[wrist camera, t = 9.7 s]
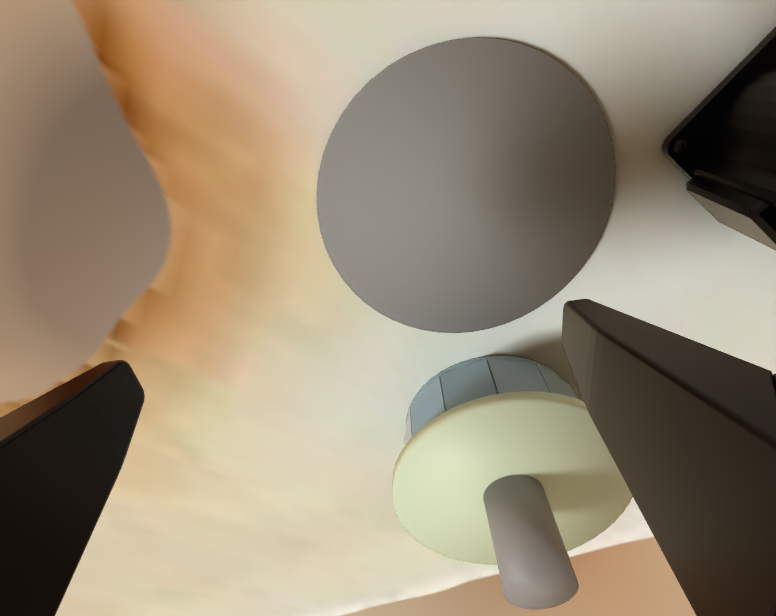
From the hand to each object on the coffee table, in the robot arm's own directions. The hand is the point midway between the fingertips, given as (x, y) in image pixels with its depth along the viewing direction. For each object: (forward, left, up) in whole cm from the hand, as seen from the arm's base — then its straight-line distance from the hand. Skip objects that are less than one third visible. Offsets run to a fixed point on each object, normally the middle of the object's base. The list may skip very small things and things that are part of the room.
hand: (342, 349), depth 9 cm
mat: (-2, +4, -12) cm, 13 cm away
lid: (+7, +14, -8) cm, 17 cm away
